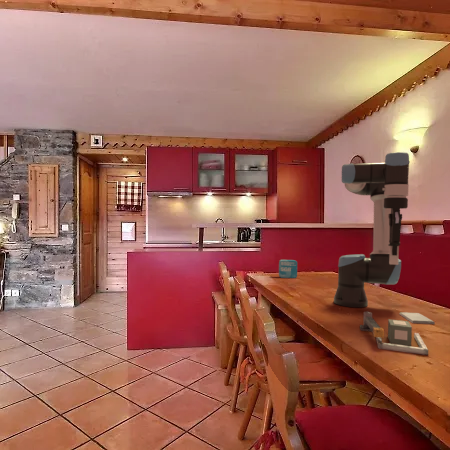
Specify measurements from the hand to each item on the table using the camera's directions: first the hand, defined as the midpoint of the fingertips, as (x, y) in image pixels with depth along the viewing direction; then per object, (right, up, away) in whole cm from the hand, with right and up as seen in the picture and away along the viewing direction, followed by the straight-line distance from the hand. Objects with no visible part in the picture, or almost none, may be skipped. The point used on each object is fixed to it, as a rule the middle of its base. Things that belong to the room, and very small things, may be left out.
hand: (393, 264), depth 120 cm
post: (-8, -24, +3) cm, 25 cm away
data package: (-16, -23, +115) cm, 118 cm away
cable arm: (-10, -21, -7) cm, 24 cm away
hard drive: (+18, -25, +18) cm, 35 cm away
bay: (-4, -24, -11) cm, 26 cm away
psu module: (-3, -24, -9) cm, 26 cm away
